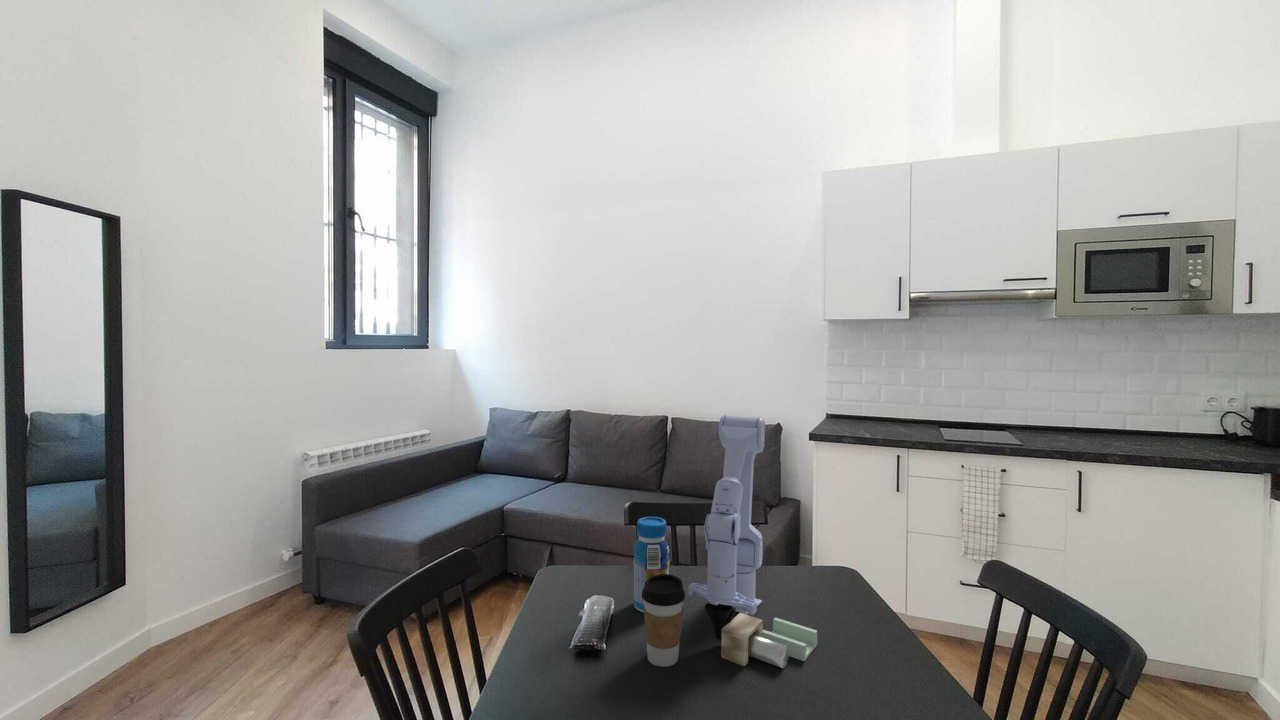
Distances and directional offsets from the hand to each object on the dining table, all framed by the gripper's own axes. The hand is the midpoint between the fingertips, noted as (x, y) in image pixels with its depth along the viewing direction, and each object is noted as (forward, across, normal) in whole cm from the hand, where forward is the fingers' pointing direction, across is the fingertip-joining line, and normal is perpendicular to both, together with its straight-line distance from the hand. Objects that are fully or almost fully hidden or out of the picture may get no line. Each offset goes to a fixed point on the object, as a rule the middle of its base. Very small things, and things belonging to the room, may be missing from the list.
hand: (721, 638), depth 116 cm
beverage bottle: (+2, -21, +5) cm, 21 cm away
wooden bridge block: (+1, +5, 0) cm, 5 cm away
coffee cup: (+2, -7, -11) cm, 13 cm away
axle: (+1, +7, 0) cm, 8 cm away
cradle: (+1, +11, +8) cm, 14 cm away
